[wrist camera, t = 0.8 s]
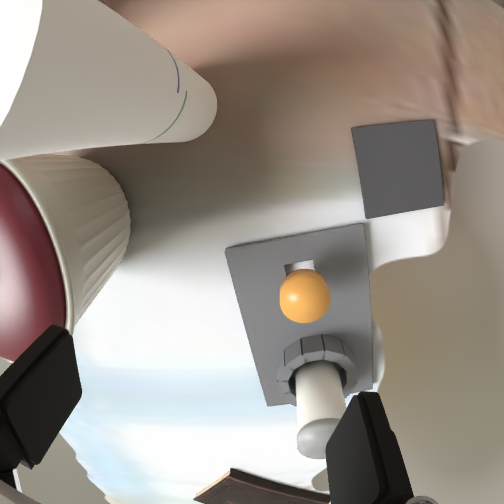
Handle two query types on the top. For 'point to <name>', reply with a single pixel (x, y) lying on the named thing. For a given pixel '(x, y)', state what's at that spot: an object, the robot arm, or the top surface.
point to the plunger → (304, 296)
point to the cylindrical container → (91, 82)
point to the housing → (314, 333)
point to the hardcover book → (255, 492)
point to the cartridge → (317, 406)
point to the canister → (55, 243)
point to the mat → (398, 167)
